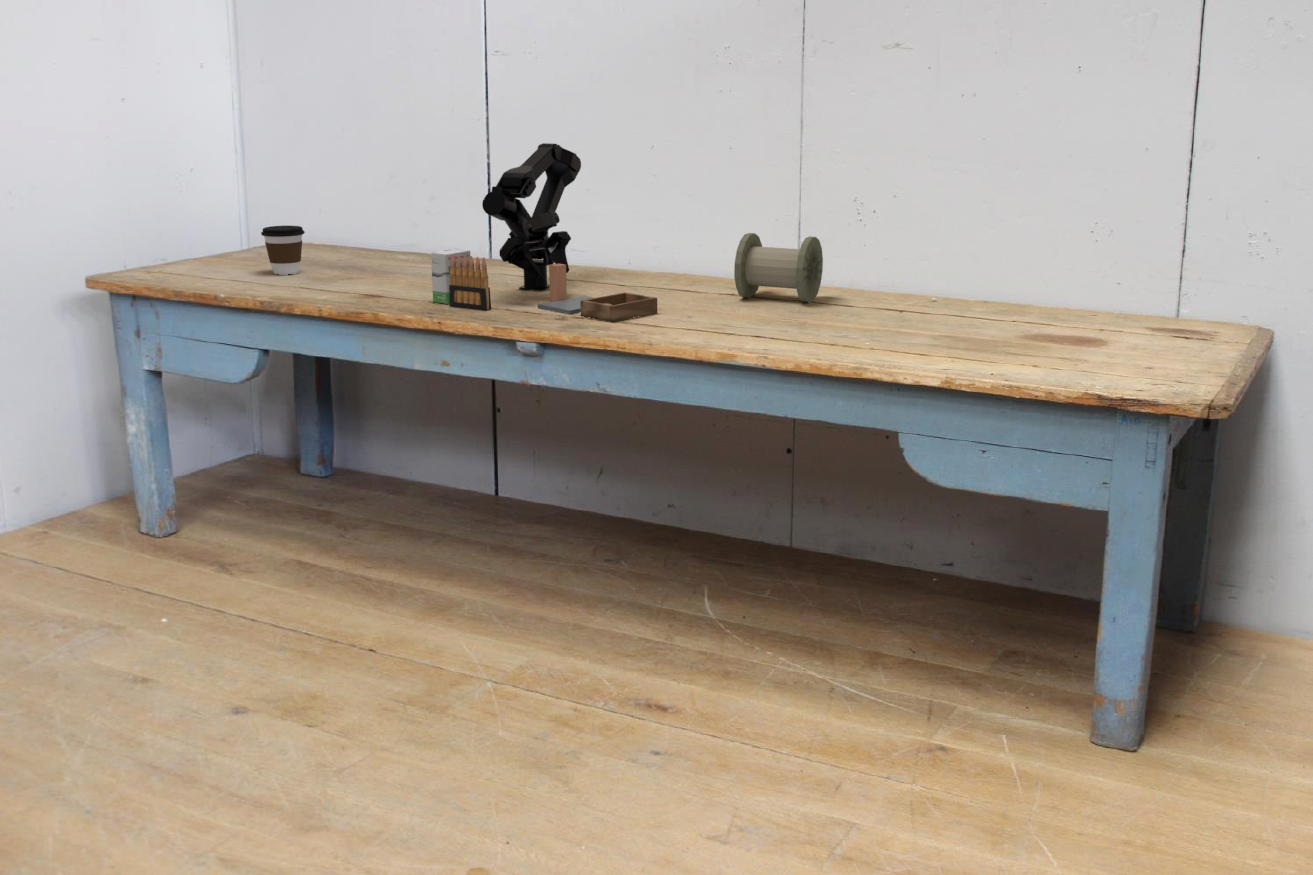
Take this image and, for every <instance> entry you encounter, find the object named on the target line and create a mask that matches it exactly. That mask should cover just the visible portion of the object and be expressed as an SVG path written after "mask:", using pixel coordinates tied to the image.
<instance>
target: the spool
mask: <svg viewBox="0 0 1313 875" xmlns="http://www.w3.org/2000/svg"><path fill="white" fill-rule="evenodd" d="M821 244H822V243H821V241H820V239H819V238H817V236H811V235H810V236H807V237H805V238H804V240H803V241H802V242H801V245H800V248H789V247H788V248H786V247H769V246H763V244H762V241H761V239H760V236H758V234H756V233H754V232H748V233H745V234H743V236H742V237H741V239H740V240H739V243H738V245H737V248H736V253H735V258H734V275H733V276H734V282H735V283H734V284H735V288H736V291H737V293H738V295H739V296H740V297H741V298H743V297H744V299H750V298H752V297H751V296H752V295H754V296H755V295H756V294H757V292H758V290H759V287H767V288H768V287H769V288H779V289H791V290H792V289H794V290H796V294H797V295H798V299H799V301H801V303H804V302H808V304H810V303H812V302H813V300H814V299H816V298H817V296H818V293H819V291H820V288H821V285H822V284H821V283H822V278H823V277H822V276H823V270H824V269H823V268H824V267H823V264H824V257H823V247H822V245H821ZM749 297H750V298H749ZM814 301H815V300H814ZM809 302H810V303H809Z"/></svg>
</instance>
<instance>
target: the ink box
mask: <svg viewBox="0 0 1313 875" xmlns="http://www.w3.org/2000/svg"><path fill="white" fill-rule="evenodd" d="M430 254H431V255H430V258H431V259H430V260H431V264H430V265H431V284H432V285H431V286H432V288H431V289H432V302H433V303H438V304H443V305H444V304H445V305H449V285H450V267H451V256H452V254H453V255H454V257H455V262H456V271H457V258H458V255H460V257H461V261H462V270H463V259H464V256H465V255H466V257H467V261H468V268H469V261H470V257H471V250H469V249H463V248H447V249H441V250H433V251H432V252H431V253H430Z"/></svg>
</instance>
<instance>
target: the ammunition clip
mask: <svg viewBox="0 0 1313 875" xmlns="http://www.w3.org/2000/svg"><path fill="white" fill-rule="evenodd" d="M481 259H482V260H480V258H479V256H476V258H475V260H474V258H473V256H472V255H470V261H469V268H468V261H467V257H466V255H465V256H464V259H463V270H462V261H461V257H460V255H458V258H457V271H456V262H455V257H454V255H453V254H452V256H451V267H450V285H449V304H448V305H449V308H458V309H467V310H474V311H481V312H482V311H484V312H487V311H491V310H492V302H491V301H492V299H491V287H490V286H489V275H488V268H487V261H486V258H485V257H482V258H481Z"/></svg>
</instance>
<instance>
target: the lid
mask: <svg viewBox="0 0 1313 875" xmlns="http://www.w3.org/2000/svg"><path fill="white" fill-rule="evenodd" d="M548 277H549V279H548V282H549V283H548V285H549V288H548V290H549V302H542V303H538V304H537V309H539V310H542V311H543V310H544V311H548V310H549V312H553V311H554V312H555V313H558V312H559V314H564V315H568V316H569V315H576V314H580V313H579V312H581V304H580V301H581V300H586V299H592V298H595V297H593V296H587V295H582V296H576V297H569V298H567V273H566V265H565V264H559V263H558V264H555V263H553V264H552V265H548ZM575 313H576V314H575Z"/></svg>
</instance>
